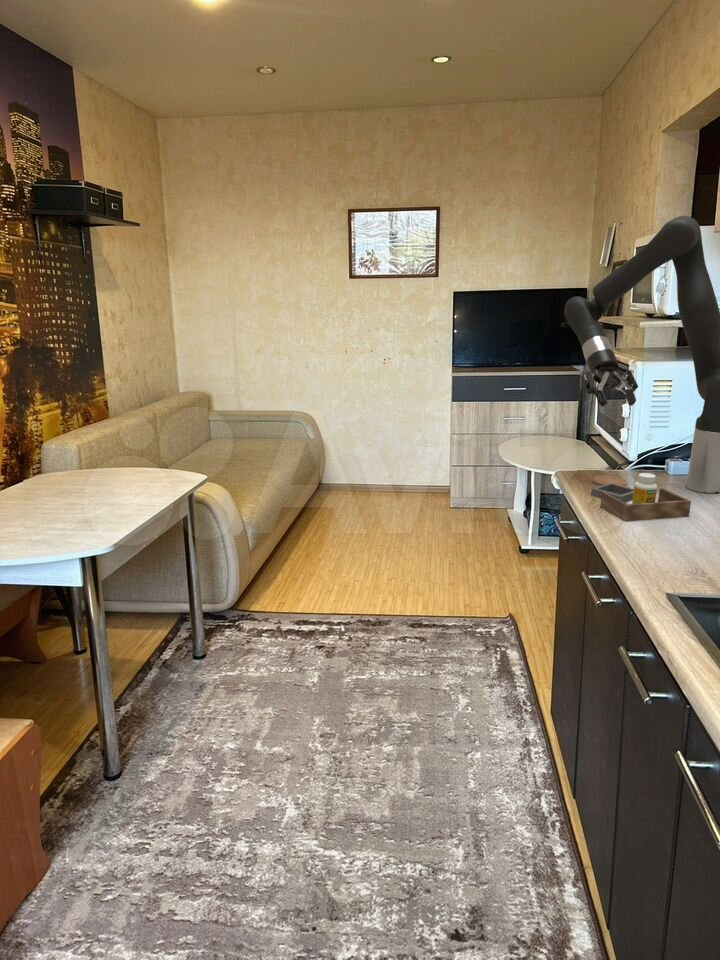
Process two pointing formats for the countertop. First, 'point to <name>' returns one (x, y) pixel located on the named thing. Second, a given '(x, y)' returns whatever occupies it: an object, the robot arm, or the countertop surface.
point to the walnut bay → (648, 507)
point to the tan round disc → (609, 480)
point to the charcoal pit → (614, 491)
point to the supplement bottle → (645, 489)
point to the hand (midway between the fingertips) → (618, 404)
